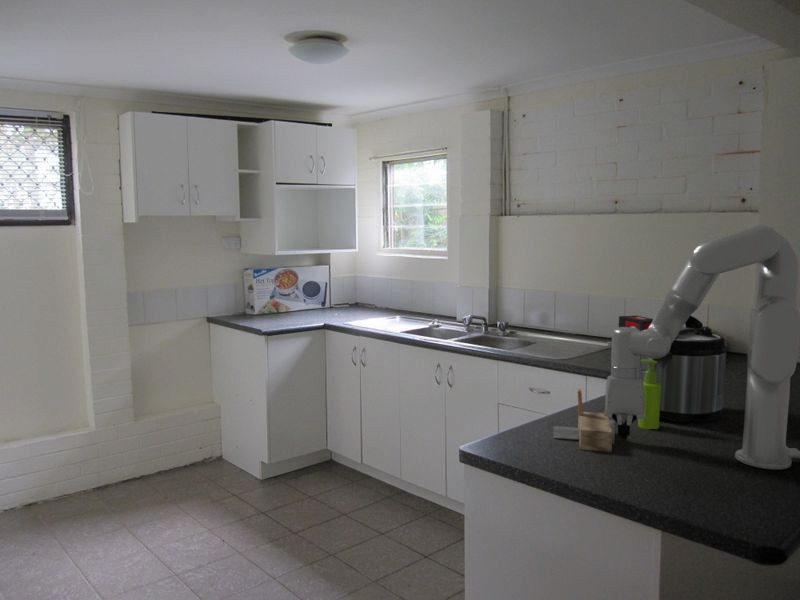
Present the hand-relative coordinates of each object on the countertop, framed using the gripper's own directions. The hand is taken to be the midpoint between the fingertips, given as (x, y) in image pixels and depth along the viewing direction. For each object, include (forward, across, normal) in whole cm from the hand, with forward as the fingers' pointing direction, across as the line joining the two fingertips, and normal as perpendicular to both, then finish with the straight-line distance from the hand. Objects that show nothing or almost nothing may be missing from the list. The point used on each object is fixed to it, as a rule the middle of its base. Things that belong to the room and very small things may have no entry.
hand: (623, 437), depth 184 cm
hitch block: (+1, +8, 0) cm, 8 cm away
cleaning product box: (+1, -16, -109) cm, 110 cm away
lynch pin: (+1, +11, 0) cm, 11 cm away
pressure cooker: (+2, -18, -35) cm, 39 cm away
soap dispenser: (+2, -8, -17) cm, 19 cm away
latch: (-8, +11, -6) cm, 15 cm away
